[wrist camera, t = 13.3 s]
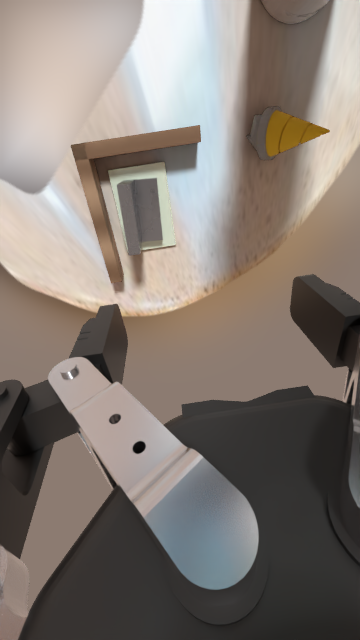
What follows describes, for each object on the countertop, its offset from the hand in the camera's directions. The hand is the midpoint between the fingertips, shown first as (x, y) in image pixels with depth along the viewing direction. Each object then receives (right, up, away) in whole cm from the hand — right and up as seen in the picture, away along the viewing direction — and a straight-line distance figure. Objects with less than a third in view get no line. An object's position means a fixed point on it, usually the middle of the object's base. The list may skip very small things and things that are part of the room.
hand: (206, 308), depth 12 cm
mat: (-6, +15, +25) cm, 30 cm away
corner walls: (-6, +15, +26) cm, 30 cm away
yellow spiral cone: (+11, +24, +22) cm, 34 cm away
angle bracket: (-6, +15, +25) cm, 30 cm away
